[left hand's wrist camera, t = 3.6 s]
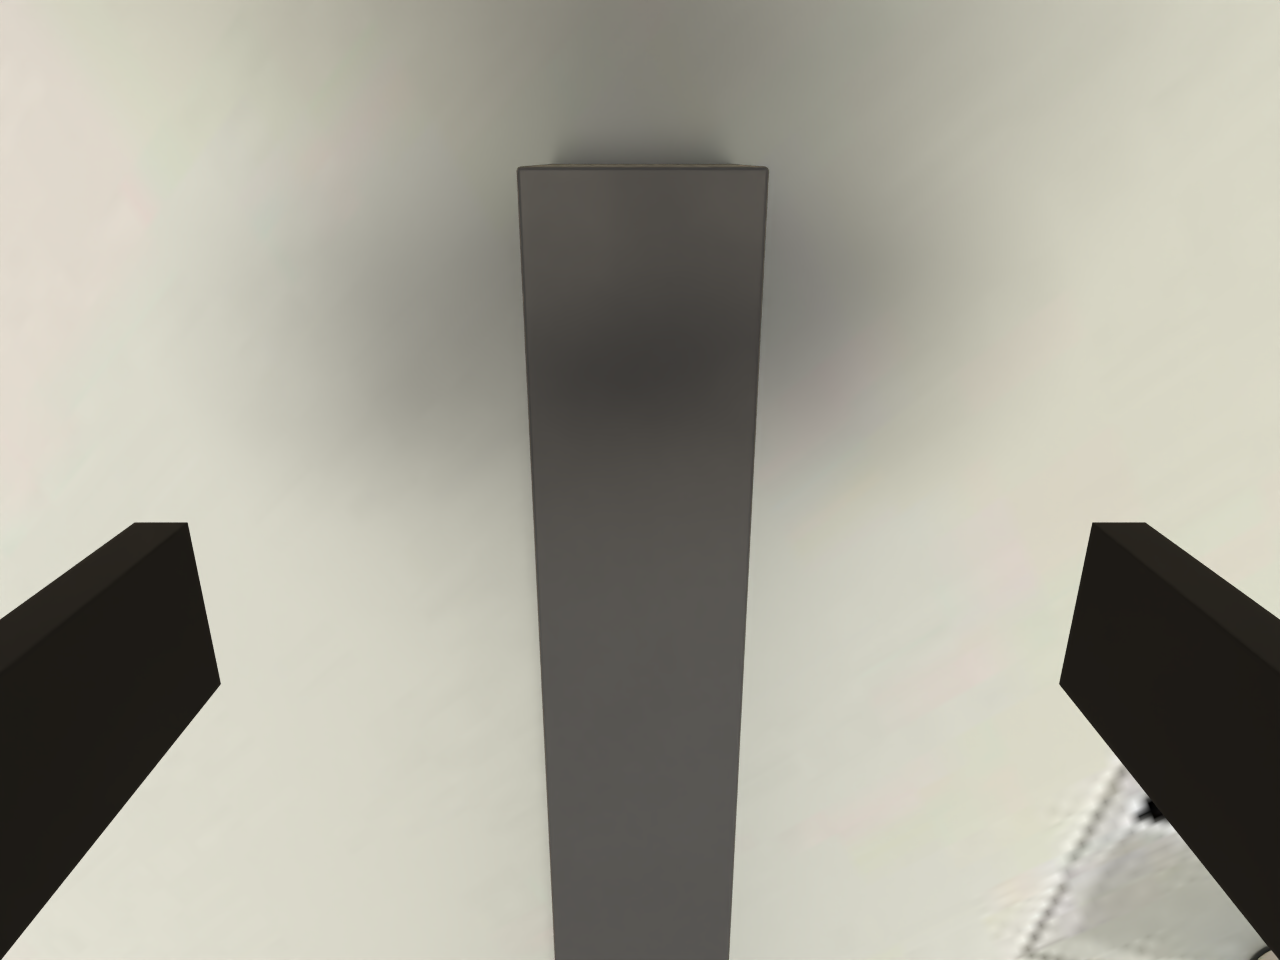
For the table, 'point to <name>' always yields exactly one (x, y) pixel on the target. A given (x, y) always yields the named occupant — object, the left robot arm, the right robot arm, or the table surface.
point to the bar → (642, 537)
